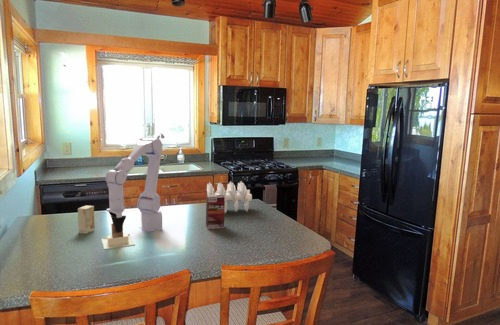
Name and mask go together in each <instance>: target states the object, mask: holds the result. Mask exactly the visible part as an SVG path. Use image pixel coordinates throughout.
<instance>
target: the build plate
mask: <svg viewBox="0 0 500 325" xmlns="http://www.w3.org/2000/svg"><path fill="white" fill-rule="evenodd" d="M127 234H128V239H129V243H123V244H117V245H110V246H109V245H108V240H107V236H105V237H100V239H101V242H102V245H103V249H104V251H108V250H113V249H120V248H127V247H133V246H136V244H135V243H134V240H133V238H132V237H131V234H130V233H127Z"/></svg>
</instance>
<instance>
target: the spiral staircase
mask: <svg viewBox="0 0 500 325" xmlns="http://www.w3.org/2000/svg"><path fill="white" fill-rule="evenodd" d="M235 185H236V184H234V182H232V180H230V181H229V182H228V183H227V187H226V188H225V187H224V184H222V182H221V181H220V182H218V183H217V187H216V189H217V190H216V191H215V189H214V186H213V184H212V183H211V181H209V182H208V183H207V184H206V193H207V195H206V196H214V195H223V196H224V197H225V209H224V214H227V212H228V202H230V201H231V202H233V204H234V211H235V212H236V213H237V212H238V210H239V201H241V202H243V206H244V211H246V213H247V212H248V211H249V205H250V202H251V201H252V200H253V195H252V193H251V189H247V186H246V185H245V183H244V182H243V181H242V180H240V181H239V182H237V186H235ZM236 187H237V188H236Z"/></svg>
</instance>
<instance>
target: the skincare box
mask: <svg viewBox="0 0 500 325" xmlns="http://www.w3.org/2000/svg"><path fill="white" fill-rule="evenodd" d="M77 220H78V221H77V222H78V226H77V227H78V228H77V229H78V234H85V235H87V234H90V233H91V232H95V228H96V227H95V205H86V204H85V205H83V206H81V207H78V208H77Z"/></svg>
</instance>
